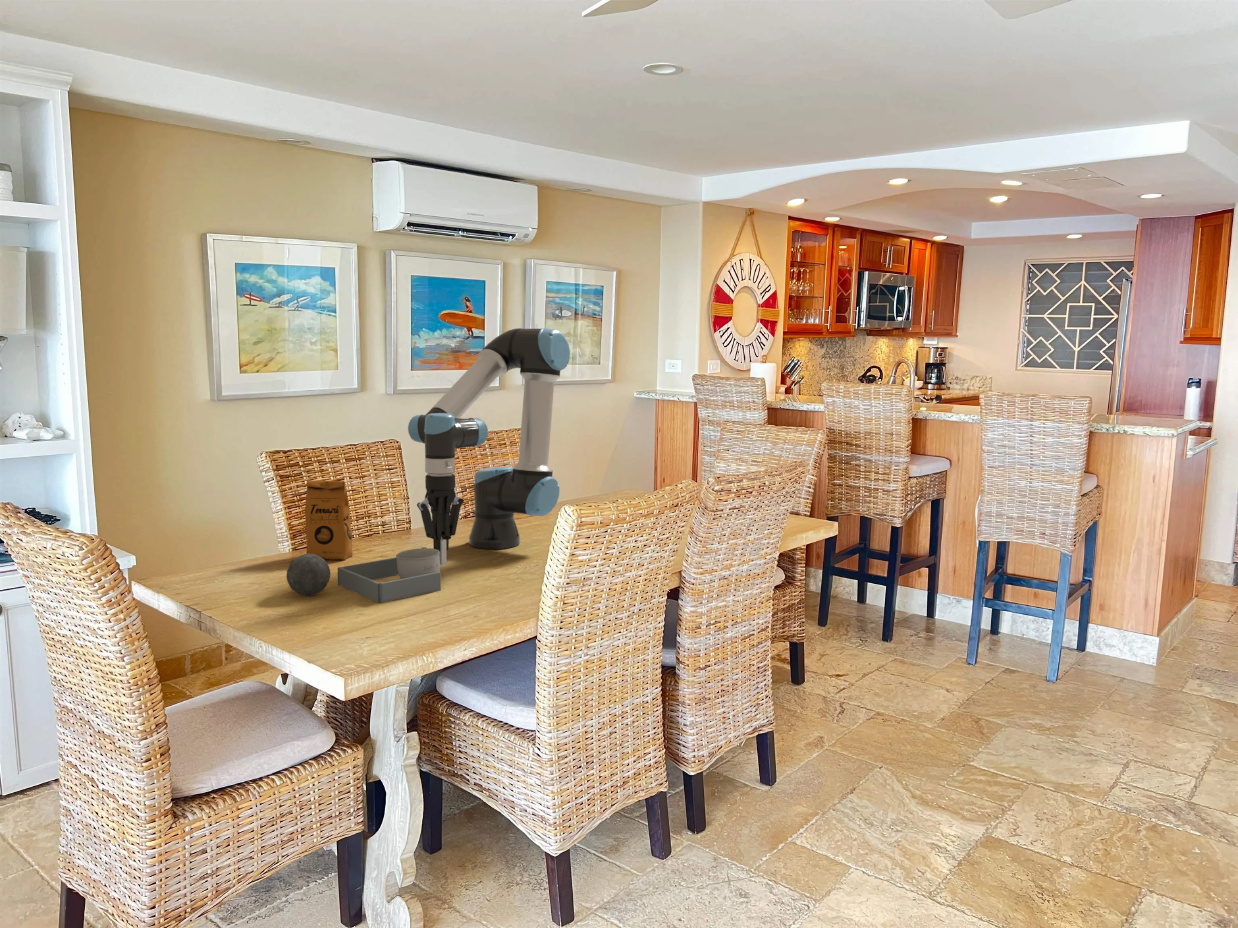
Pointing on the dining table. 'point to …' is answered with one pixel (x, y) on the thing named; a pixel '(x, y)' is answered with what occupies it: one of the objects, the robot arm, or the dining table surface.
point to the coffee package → (328, 520)
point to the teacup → (418, 562)
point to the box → (362, 583)
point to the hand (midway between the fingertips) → (441, 563)
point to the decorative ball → (308, 574)
